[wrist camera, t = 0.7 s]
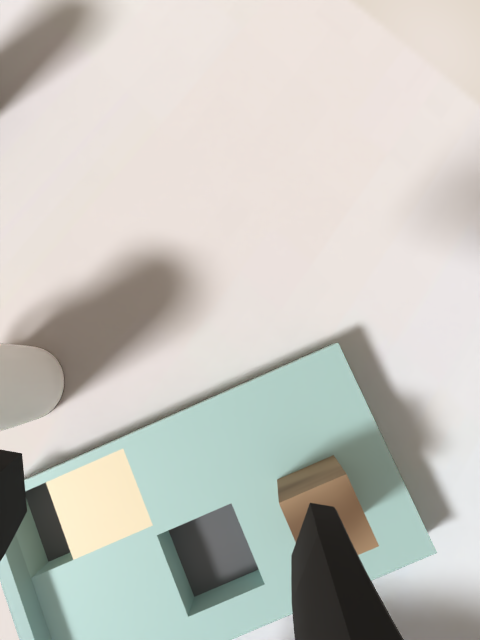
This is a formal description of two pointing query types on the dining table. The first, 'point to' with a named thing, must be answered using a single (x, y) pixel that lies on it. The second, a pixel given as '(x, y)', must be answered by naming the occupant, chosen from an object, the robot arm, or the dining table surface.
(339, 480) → the walnut block
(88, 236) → the dining table surface
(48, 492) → the board
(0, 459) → the robot arm
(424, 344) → the dining table surface
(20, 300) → the dining table surface
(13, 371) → the mug
